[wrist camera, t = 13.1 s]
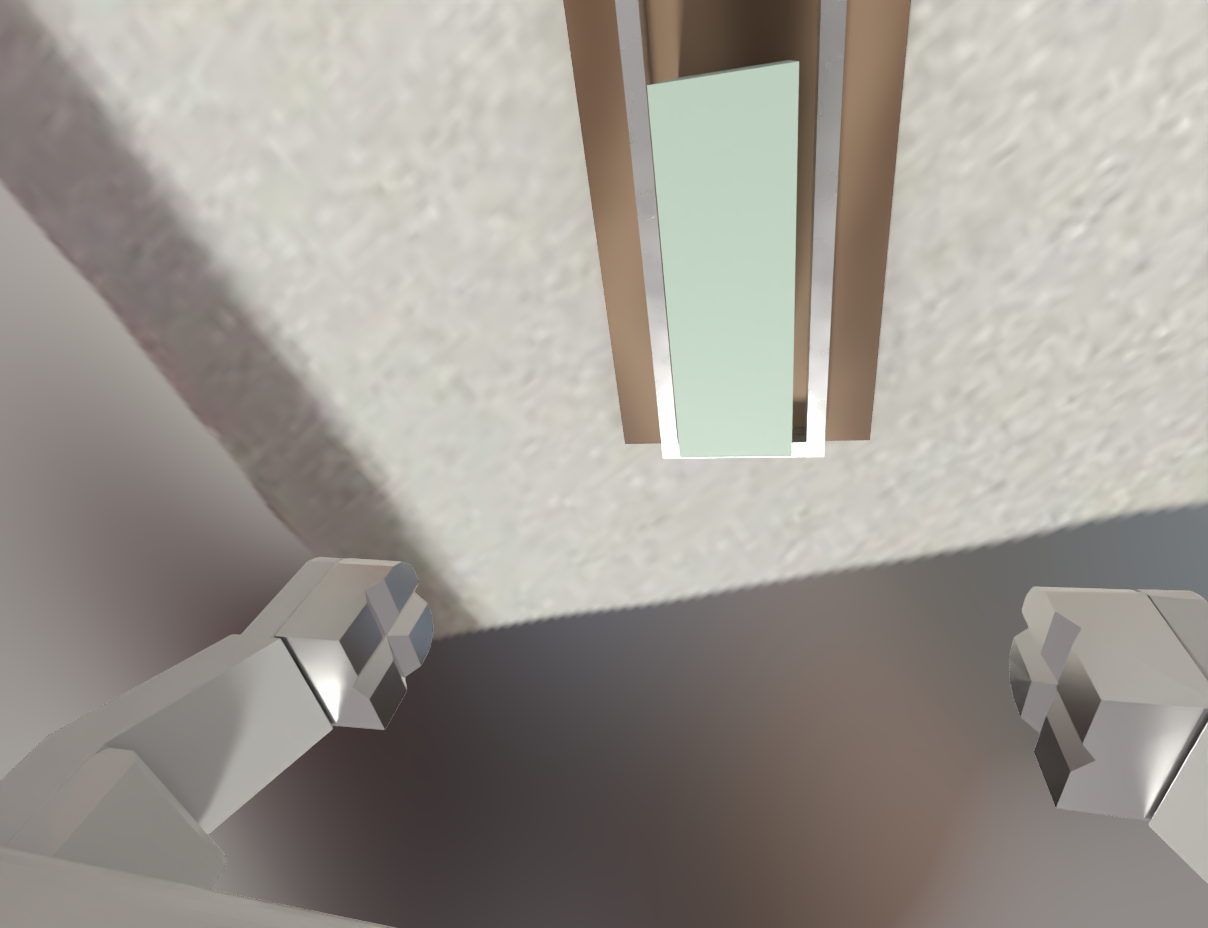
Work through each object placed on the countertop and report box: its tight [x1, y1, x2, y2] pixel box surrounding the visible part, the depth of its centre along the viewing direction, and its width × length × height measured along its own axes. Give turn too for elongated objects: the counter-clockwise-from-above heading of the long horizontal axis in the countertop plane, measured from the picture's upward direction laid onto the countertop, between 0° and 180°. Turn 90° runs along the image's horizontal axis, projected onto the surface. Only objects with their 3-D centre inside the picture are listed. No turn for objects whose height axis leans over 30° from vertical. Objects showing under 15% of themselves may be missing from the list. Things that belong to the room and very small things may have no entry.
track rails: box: [615, 0, 847, 458], centre depth 26 cm, size 8×20×2 cm, turn 8°
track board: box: [563, 0, 911, 444], centre depth 27 cm, size 12×20×1 cm, turn 8°
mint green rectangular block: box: [647, 60, 799, 458], centre depth 23 cm, size 4×12×8 cm, turn 8°
